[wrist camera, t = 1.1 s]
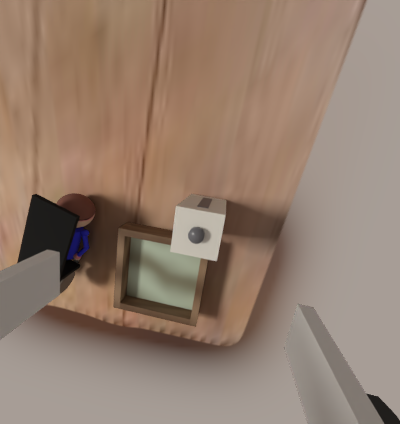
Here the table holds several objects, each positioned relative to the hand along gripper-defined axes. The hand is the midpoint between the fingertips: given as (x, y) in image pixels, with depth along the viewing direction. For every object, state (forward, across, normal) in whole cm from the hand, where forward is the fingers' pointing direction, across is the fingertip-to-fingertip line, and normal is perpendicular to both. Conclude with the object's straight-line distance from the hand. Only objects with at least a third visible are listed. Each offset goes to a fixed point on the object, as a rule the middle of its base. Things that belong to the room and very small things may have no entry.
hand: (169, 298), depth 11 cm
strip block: (+19, 0, 0) cm, 19 cm away
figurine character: (+19, -20, -7) cm, 29 cm away
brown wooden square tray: (+19, -5, -10) cm, 22 cm away
